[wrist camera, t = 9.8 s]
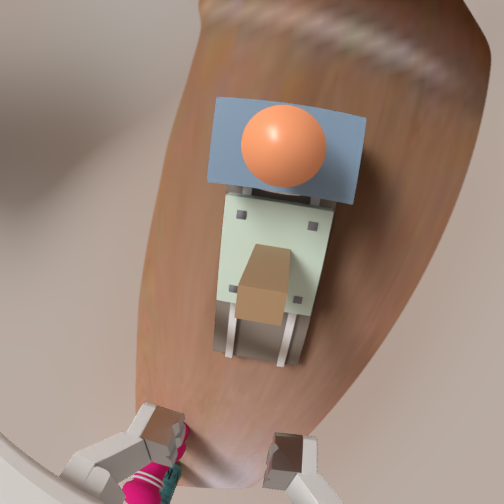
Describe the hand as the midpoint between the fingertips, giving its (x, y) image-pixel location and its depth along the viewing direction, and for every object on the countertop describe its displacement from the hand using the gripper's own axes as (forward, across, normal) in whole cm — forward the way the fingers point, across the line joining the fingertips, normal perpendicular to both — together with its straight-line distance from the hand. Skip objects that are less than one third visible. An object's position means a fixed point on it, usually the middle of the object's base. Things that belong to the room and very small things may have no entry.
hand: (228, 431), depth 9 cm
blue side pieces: (+21, 0, -10) cm, 23 cm away
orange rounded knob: (+14, 0, -10) cm, 17 cm away
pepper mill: (+21, +12, +36) cm, 43 cm away
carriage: (+19, 0, 0) cm, 19 cm away
